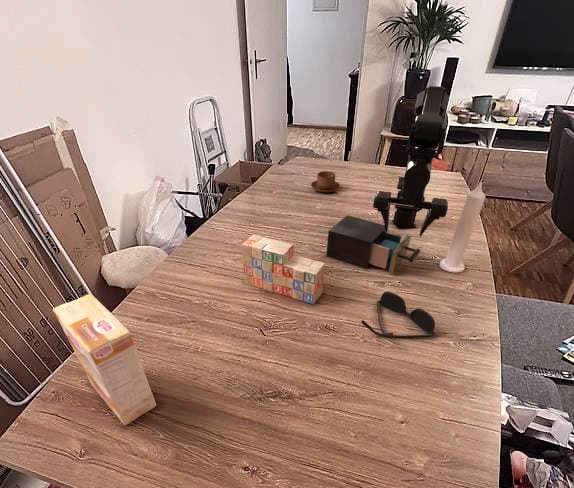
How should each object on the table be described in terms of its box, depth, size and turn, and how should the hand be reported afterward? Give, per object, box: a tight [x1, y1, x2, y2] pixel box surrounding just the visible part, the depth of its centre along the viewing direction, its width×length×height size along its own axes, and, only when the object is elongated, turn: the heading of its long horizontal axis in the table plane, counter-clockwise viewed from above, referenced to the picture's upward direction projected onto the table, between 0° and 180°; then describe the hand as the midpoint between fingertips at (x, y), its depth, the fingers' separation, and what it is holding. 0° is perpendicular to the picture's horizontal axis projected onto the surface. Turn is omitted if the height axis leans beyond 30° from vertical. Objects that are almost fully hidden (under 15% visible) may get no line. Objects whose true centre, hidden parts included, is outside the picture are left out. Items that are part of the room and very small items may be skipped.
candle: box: [439, 181, 486, 274], centre depth 104 cm, size 7×7×25 cm
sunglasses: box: [361, 291, 436, 339], centre depth 89 cm, size 17×14×5 cm
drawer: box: [369, 231, 422, 274], centre depth 111 cm, size 17×11×7 cm
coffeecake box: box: [52, 293, 157, 426], centre depth 69 cm, size 15×7×20 cm, turn 45°
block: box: [380, 239, 399, 263], centre depth 111 cm, size 4×4×4 cm
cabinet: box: [325, 214, 386, 270], centre depth 115 cm, size 14×13×9 cm
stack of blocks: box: [241, 234, 326, 305], centre depth 99 cm, size 21×6×12 cm, turn 62°
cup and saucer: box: [310, 170, 341, 193], centre depth 155 cm, size 12×12×6 cm
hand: (403, 233), depth 105 cm, fingers open, 9 cm apart
